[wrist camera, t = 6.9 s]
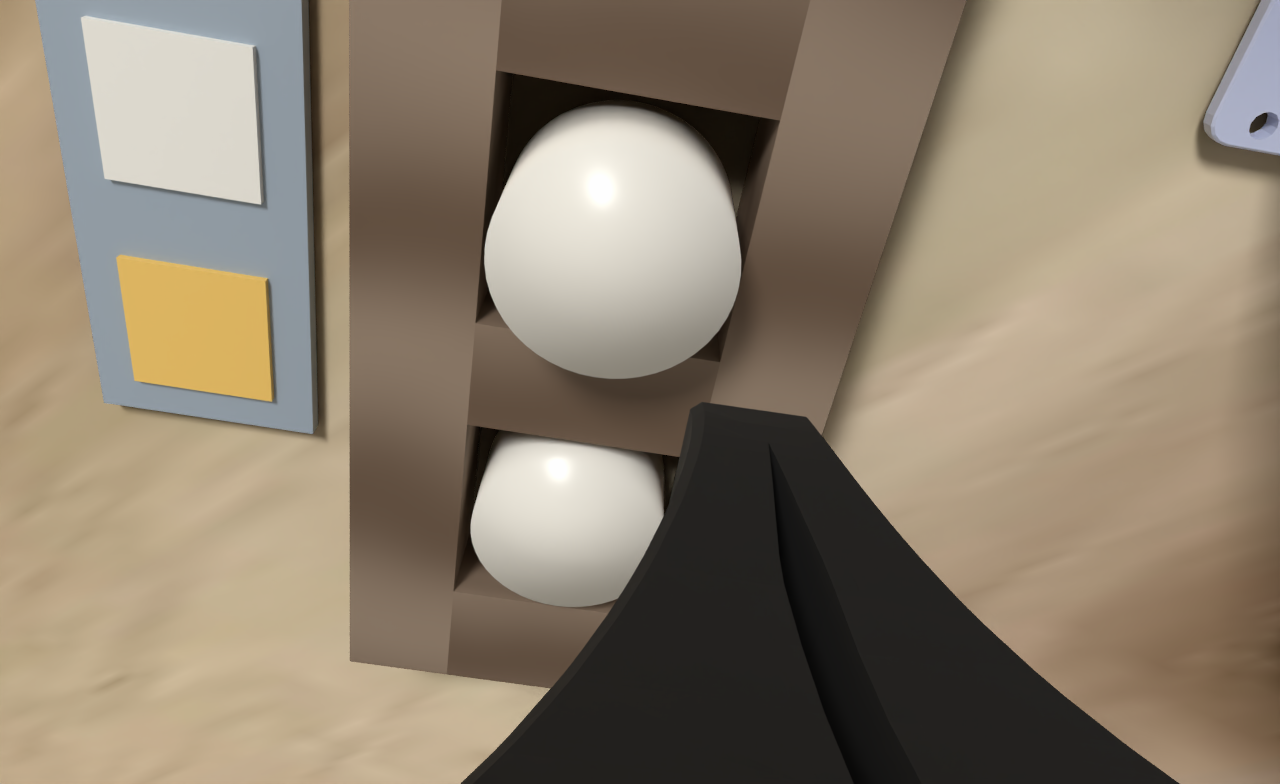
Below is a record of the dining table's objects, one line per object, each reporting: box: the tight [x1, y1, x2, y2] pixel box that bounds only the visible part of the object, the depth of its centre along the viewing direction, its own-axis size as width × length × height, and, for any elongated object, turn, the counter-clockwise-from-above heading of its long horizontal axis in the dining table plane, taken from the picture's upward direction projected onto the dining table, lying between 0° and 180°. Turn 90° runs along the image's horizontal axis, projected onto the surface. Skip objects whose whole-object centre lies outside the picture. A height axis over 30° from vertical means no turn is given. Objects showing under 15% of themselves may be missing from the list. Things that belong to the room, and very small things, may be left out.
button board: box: [349, 0, 967, 688], centre depth 19 cm, size 26×10×2 cm, turn 170°
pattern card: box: [35, 0, 318, 434], centre depth 19 cm, size 15×5×1 cm, turn 170°
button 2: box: [484, 100, 741, 379], centre depth 17 cm, size 4×4×2 cm
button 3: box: [471, 430, 664, 607], centre depth 22 cm, size 4×4×2 cm
